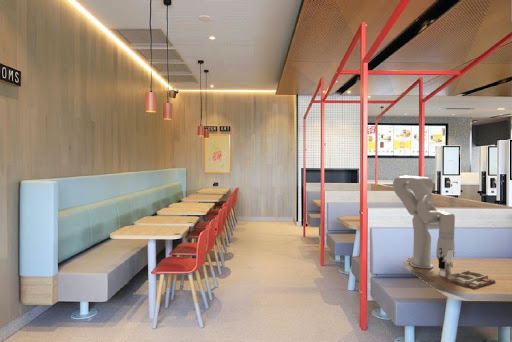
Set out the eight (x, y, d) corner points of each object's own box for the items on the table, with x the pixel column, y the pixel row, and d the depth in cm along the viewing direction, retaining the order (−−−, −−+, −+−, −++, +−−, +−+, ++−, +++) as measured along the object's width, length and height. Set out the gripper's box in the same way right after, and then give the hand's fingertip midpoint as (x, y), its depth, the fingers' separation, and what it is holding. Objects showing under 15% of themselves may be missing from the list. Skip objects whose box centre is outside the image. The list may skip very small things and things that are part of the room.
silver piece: (455, 277, 197) (456, 250, 197) (442, 277, 197) (443, 250, 196) (447, 273, 204) (448, 247, 204) (435, 273, 204) (436, 247, 203)
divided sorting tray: (444, 280, 193) (444, 275, 192) (466, 274, 203) (466, 269, 203) (473, 288, 180) (474, 283, 180) (495, 282, 190) (495, 277, 190)
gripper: (448, 232, 208) (448, 264, 208) (430, 235, 199) (429, 268, 199) (462, 235, 201) (461, 267, 202) (443, 238, 192) (442, 271, 193)
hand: (445, 267), depth 200 cm, fingers closed on silver piece, 6 cm apart
